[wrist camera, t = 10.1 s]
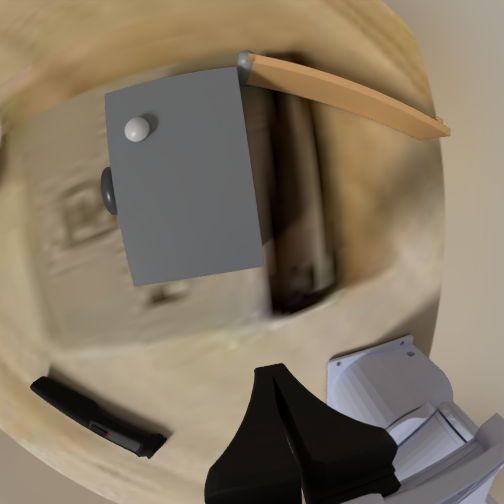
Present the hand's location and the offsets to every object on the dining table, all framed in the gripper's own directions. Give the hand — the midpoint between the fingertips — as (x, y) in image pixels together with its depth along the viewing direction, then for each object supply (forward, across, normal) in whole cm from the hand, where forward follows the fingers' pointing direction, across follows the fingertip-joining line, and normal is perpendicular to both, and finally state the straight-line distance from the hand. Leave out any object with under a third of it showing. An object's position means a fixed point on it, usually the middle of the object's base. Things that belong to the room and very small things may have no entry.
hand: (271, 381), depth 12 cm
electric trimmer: (+10, +18, +11) cm, 23 cm away
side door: (+9, -9, -14) cm, 19 cm away
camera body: (+9, +3, -10) cm, 14 cm away
